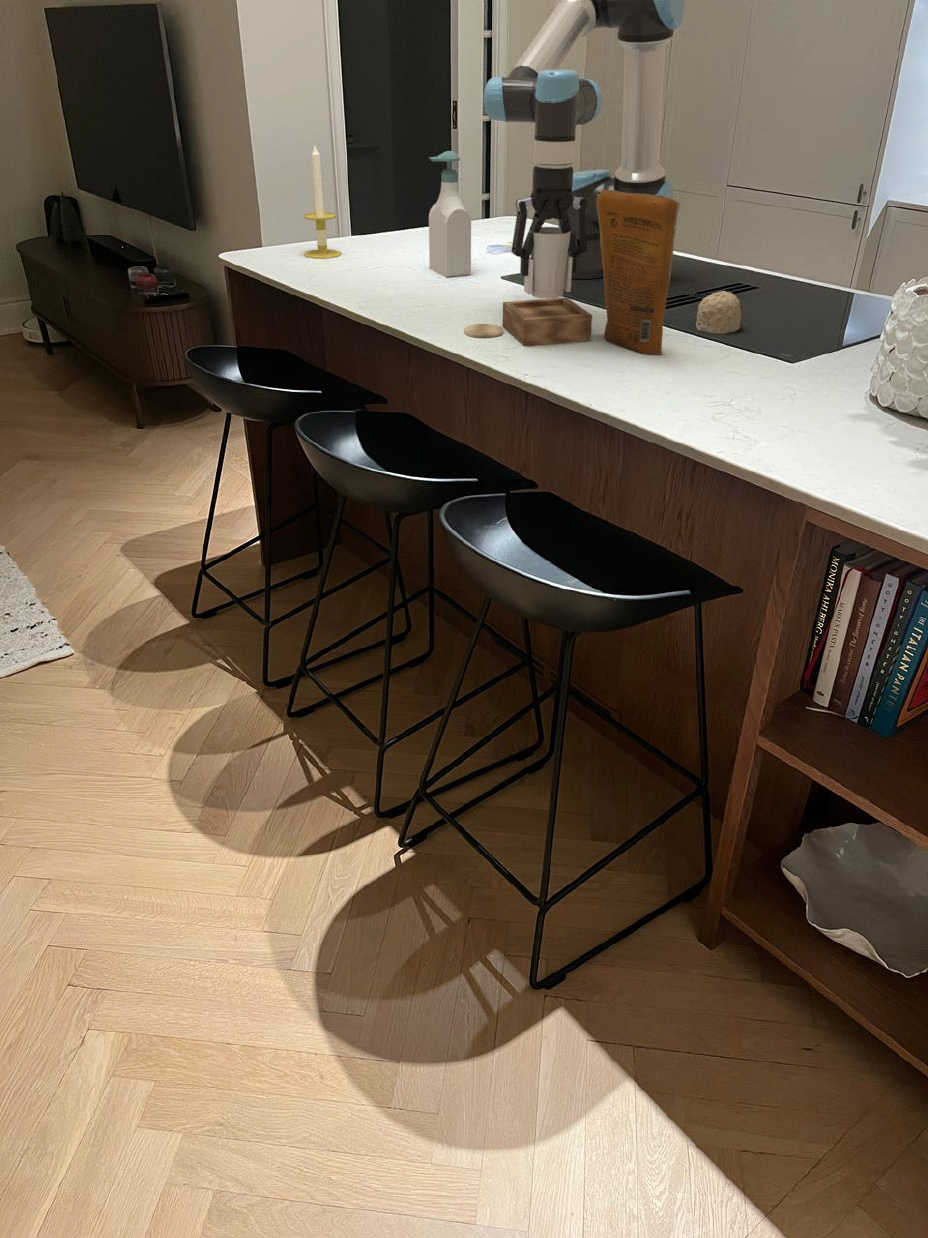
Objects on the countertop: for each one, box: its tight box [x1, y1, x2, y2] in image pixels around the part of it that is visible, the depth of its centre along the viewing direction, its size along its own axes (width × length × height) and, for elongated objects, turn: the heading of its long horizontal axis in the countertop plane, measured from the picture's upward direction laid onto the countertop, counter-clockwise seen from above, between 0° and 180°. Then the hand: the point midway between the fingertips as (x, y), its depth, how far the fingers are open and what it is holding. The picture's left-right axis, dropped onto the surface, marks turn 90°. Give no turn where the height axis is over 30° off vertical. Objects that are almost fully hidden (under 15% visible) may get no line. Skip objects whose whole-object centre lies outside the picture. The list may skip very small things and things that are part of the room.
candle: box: [303, 142, 342, 260], centre depth 250 cm, size 10×10×27 cm
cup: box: [530, 226, 571, 299], centre depth 188 cm, size 8×8×12 cm
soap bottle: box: [428, 150, 472, 278], centre depth 233 cm, size 11×8×27 cm
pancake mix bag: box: [596, 190, 681, 355], centre depth 182 cm, size 7×19×28 cm, turn 34°
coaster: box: [463, 323, 504, 339], centre depth 196 cm, size 8×8×1 cm
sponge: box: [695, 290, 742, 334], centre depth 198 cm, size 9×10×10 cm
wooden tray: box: [501, 297, 593, 347], centre depth 195 cm, size 14×14×5 cm
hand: (547, 291), depth 191 cm, fingers closed on cup, 7 cm apart
